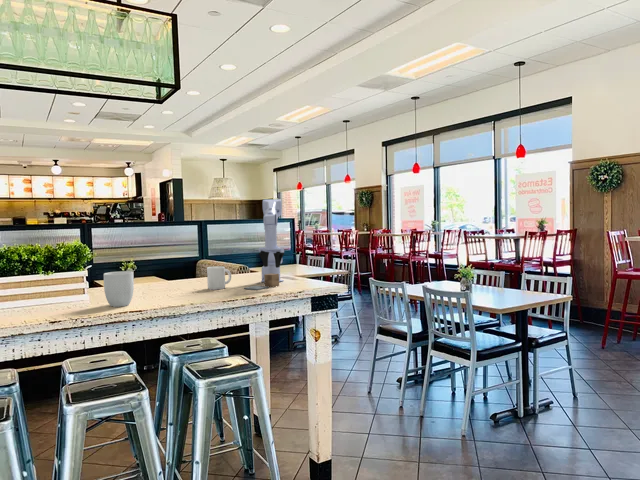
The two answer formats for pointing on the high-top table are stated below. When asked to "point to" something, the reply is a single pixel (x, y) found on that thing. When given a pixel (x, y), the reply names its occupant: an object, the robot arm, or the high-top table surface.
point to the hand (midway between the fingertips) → (271, 267)
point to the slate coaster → (256, 287)
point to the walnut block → (271, 280)
